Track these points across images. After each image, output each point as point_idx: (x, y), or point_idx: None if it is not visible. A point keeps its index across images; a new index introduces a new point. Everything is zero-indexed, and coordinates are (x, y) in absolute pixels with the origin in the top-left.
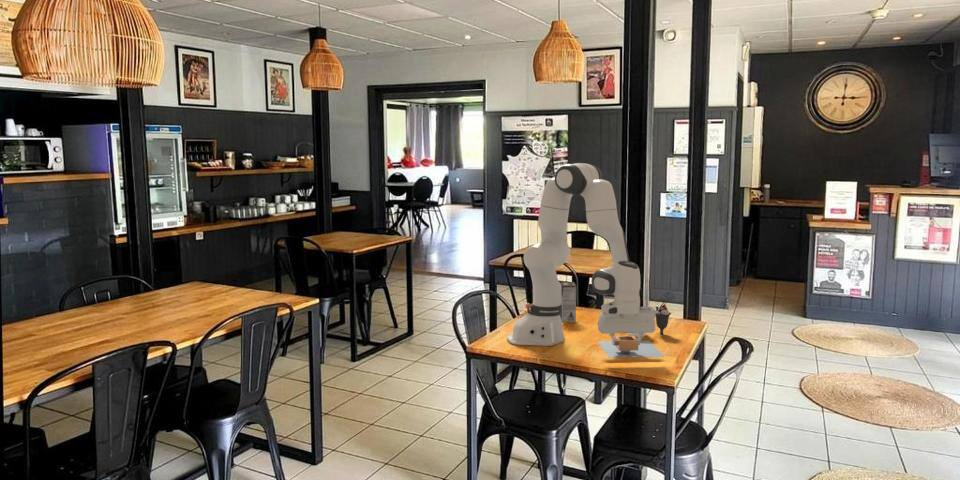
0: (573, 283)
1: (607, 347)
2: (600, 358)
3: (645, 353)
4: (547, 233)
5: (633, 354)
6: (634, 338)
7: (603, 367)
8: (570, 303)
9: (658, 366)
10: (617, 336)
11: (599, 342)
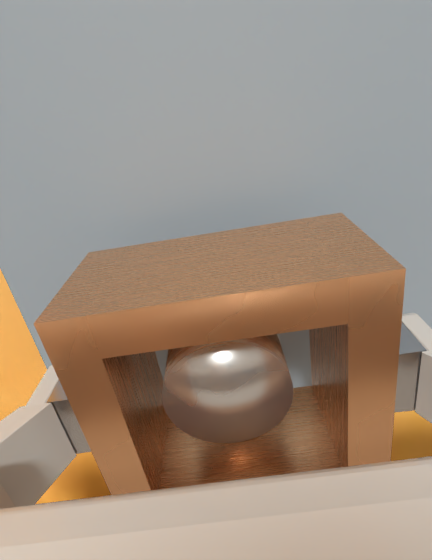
0: None
1: (8, 110)
2: (3, 339)
3: (419, 299)
4: None
5: (291, 340)
6: (365, 427)
7: (57, 492)
8: None
9: (416, 446)
10: (90, 349)
11: None
